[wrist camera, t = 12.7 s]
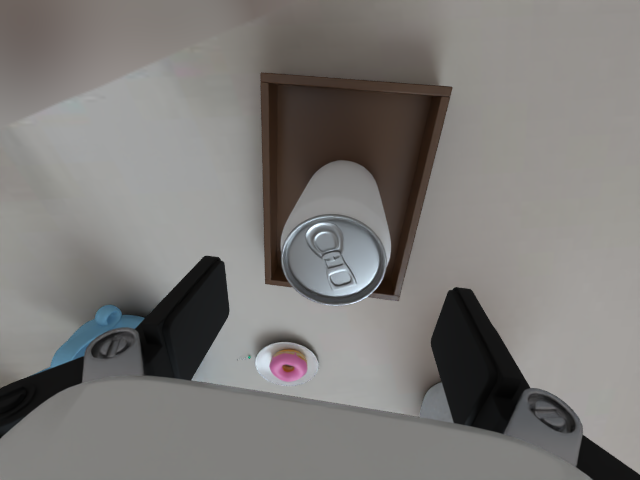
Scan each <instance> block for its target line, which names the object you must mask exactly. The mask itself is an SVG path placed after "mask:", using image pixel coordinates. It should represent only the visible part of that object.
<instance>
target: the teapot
mask: <svg viewBox="0 0 640 480" xmlns="http://www.w3.org/2000/svg"><path fill="white" fill-rule="evenodd" d="M144 319H145V318H144V317H139V316H134V315H122V313H121V311H120V309H119V308H117V307H116V306H113V305H106V306H103V307H101V308H100V309H99V310H98V311H97V313H96V315H95V319H93V320H91V321H89V322H87V323H85V324H84V325H82V326H81V327H80V328H79V329H78V330H77V331H76V332H75V333H74V334H73V335H72V336H71V337H70V338H69V339H68V341H67V342H65V343H64V344H63V345H62V346H61V347H60V348H59V349H58V350H57V352H56V353H55V355H54V357H53V359H52V362H51V367H49V368H47V369H45V370H48V369H50V368H53V367H56V366H58V365H61V364H64V363H66V362H69V361H72V360H74V359H77V358H80V357H82V356H84V355H85V351H86V348H87V346H88V345H89V344H90V343H91V342H92V341H93V340H94V339H95V338H96V337H98V336H99V335H101V334H103V333H105V332H107V331H110V330H112V329H116V328H121V327H129V328H133V329H135V328H136V327H137V326H138V325H139V324H140V323H141V322H142V321H143V320H144ZM45 370H42V371H40V372H43V371H45ZM40 372H38V373H40ZM36 374H37V373H36ZM34 375H35V374H34ZM31 376H32V375H31Z"/></svg>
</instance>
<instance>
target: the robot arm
mask: <svg viewBox="0 0 640 480" xmlns="http://www.w3.org/2000/svg"><path fill="white" fill-rule="evenodd" d="M228 315H229V301H228V292H227V283H226V274H225V265H224V262H223V261H221V260H220V258H219V257H212V256H204V257H203V258H202V259H201V260H200V261H199V262H198V263H197V264H196V265H195V267H194V268H193V269H192V270H191V271H190V272H189V273H188V274H187V275H186V276H185V277H184V278H183V279H182V280H181V281H180V282H179V283H178V284H177V285H176V286H175V287H174V288H173V290H172V291H171V292H170V293H169V294H168V295H167V296H166V297H165V298H164V299H163V300H162V301H161V302H160V303H159V304H158V305H157V306H156V307H155V308H154V309H153V310H152V312H151V313H150V314H149V315H148V316H147V317H146V318H145V319H144V320H143V321H142V322H141V323H140V324H139V325H138V326H137V327H136V328H135V329H133V328H129V327H121V328H116V329H112V330H110V331H107V332H105V333H103V334H101V335H99V336H98V337H96V338H95V339H94V340H93V341H92V342H91V343H90V344H89V345H88V346H87V348H86V351H85V355H84V356H82V357H80V358H77V359H74V360H72V361H69V362H66V363H64V364H61V365H58V366H56V367H53V368H50V369H48V370H45V371H43V372H40V373H37V374H35V375H32V376H29V377H27V378H24V379H21V380H19V381H16V382H13V383H11V384H9V385H7V386H4V387H2V388H0V480H640V475H639V474H638V473H636V472H635V471H634V470H632V469H631V468H629V467H628V466H627V465H625V464H624V463H622V462H621V461H619V460H618V459H617V458H615V457H614V456H612V455H611V454H609V453H608V452H607V451H605V450H604V449H602V448H601V447H599V446H598V445H597V444H595V443H594V442H592V441H591V440H589V439H588V438H587V437H585V436H584V435H583V427H582V424H581V422H580V419H579V417H578V416H577V415H576V413H575V412H574V411H573V410H572V409H571V408H570V407H569V406H568V405H567V404H566V403H565V402H564V401H562V400H561V399H559V398H558V397H557V396H555V395H553V394H551V393H549V392H547V391H544V390H541V389H537V388H530V387H529V385H528V383H527V381H526V380H525V378H524V376H523V375H522V373H521V371H520V370H519V368H518V366H517V365H516V363H515V361H514V359H513V358H512V356H511V354H510V353H509V351H508V349H507V348H506V346H505V344H504V342H503V341H502V339H501V337H500V336H499V334H498V332H497V331H496V329H495V328H494V327H493V326H492V324H491V322H490V320H489V319H488V317H487V315H486V314H485V312H484V310H483V308H482V307H481V305H480V303H479V302H478V300H477V298H476V296H475V295H474V293H473V291H472V290H471V289H466V288H458V287H455V288H454V289H453V290H449V291H448V293H447V296H446V299H445V302H444V304H443V307H442V310H441V313H440V316H439V318H438V321H437V324H436V327H435V329H434V332H433V335H432V338H431V347H432V351H433V354H434V358H435V361H436V364H437V368H438V371H439V375H440V378H441V381H442V385H443V388H444V392H445V395H446V399H447V402H448V405H449V409H450V412H451V416H452V419H453V422H454V423H450V422H444V421H439V420H433V419H428V418H422V417H416V416H410V415H404V414H398V413H392V412H386V411H380V410H374V409H368V408H362V407H356V406H350V405H344V404H338V403H332V402H326V401H319V400H313V399H307V398H301V397H295V396H288V395H282V394H276V393H270V392H263V391H257V390H250V389H244V388H237V387H231V386H225V385H218V384H212V383H205V382H197V381H191V379H192V377H193V376H194V374H195V372H196V371H197V369H198V367H199V366H200V364H201V362H202V360H203V359H204V357H205V355H206V354H207V352H208V350H209V348H210V347H211V345H212V343H213V342H214V340H215V338H216V337H217V335H218V333H219V331H220V330H221V328H222V326H223V325H224V323H225V321H226V319H227V318H228Z"/></svg>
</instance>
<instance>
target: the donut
mask: <svg viewBox="0 0 640 480" xmlns="http://www.w3.org/2000/svg"><path fill="white" fill-rule="evenodd" d="M248 358H249V359H250V358H251V357H250V356H249V357H248ZM245 359H246V357H245ZM239 360H240V359H239ZM241 360H243V359H242V358H241ZM237 361H238V359H237ZM255 364H256V368H257V371H258V372H259V373H260V375H261V376H262V377H264V378H265V379H266V380H268V381H270V382H272V383H275V384H278V385H283V386H296V385H300V384H303V383H306V382H308V381H309V380H311V379H312V378H313V377H314V376H315V375H316V373H317V371H318V365H319V364H318V360H317V358H316V356H315V355H314V354H313V352H312V351H310V350H309V349H308V348H306V347H304V346H302V345H300V344H297V343H292V342H277V343H273V344H270V345H268V346H266V347H264V348H263V349H261V350H260V352H259V353H258V354H257V356H256V360H255Z"/></svg>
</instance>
